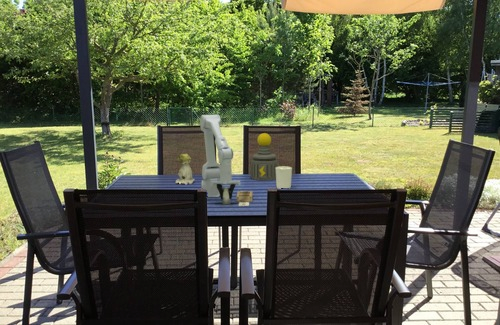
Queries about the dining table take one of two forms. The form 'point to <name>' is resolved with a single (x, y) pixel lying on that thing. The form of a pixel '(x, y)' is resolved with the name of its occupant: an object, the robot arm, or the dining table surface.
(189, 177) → the cream figurine
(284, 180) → the candle holder
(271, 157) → the decorative lamp
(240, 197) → the tan frame
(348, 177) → the dining table surface
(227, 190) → the pin
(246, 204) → the key card
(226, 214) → the dining table surface
